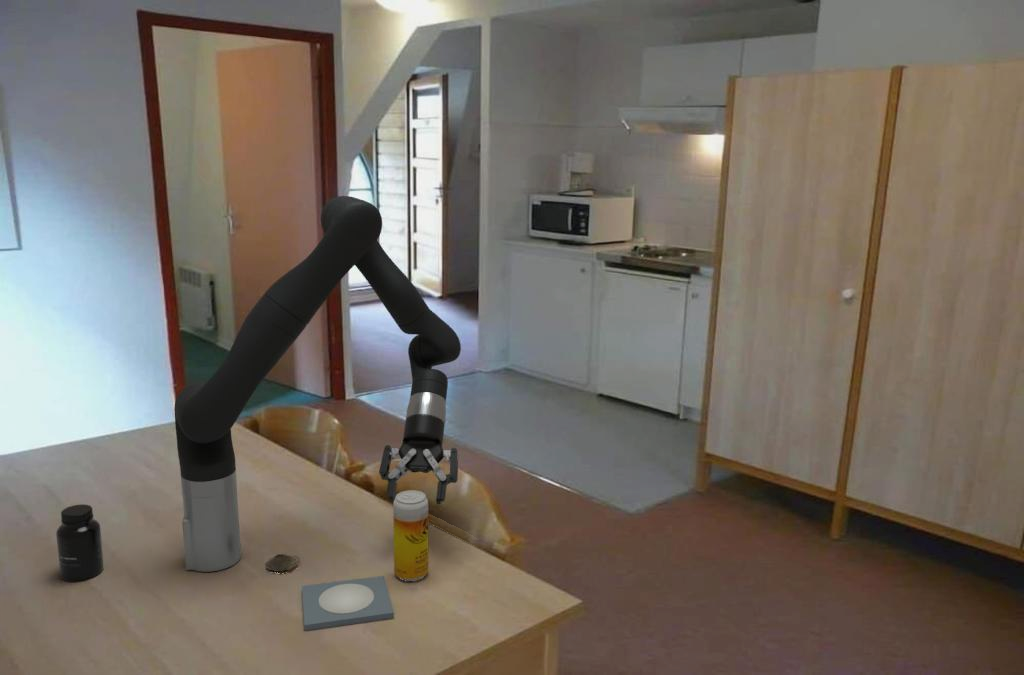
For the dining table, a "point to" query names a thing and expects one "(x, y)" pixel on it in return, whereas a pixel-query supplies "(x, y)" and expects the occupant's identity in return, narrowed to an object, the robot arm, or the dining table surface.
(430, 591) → the dining table surface
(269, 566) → the decorative disc
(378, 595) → the board
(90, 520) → the supplement bottle
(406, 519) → the beer can
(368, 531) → the dining table surface
